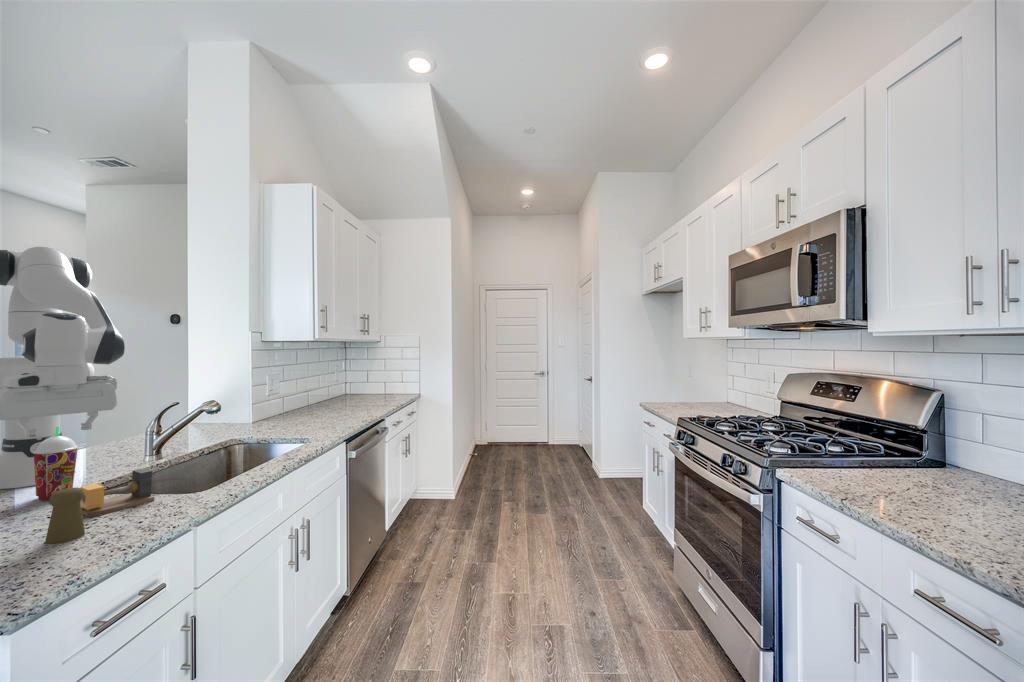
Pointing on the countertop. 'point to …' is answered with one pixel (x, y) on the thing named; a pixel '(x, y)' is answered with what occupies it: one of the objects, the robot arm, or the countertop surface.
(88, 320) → the robot arm
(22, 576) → the countertop surface
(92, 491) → the sleeve
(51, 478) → the smoothie
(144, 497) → the sliding block toy
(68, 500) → the cork
